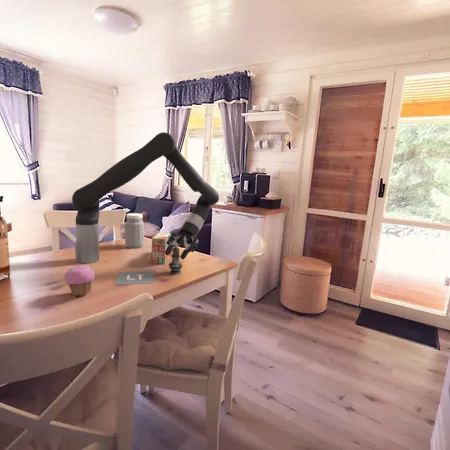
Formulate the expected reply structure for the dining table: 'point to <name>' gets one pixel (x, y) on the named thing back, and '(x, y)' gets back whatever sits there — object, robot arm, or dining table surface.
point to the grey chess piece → (175, 262)
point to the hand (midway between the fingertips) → (173, 256)
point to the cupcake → (80, 279)
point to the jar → (134, 230)
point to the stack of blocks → (160, 248)
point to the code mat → (135, 277)
